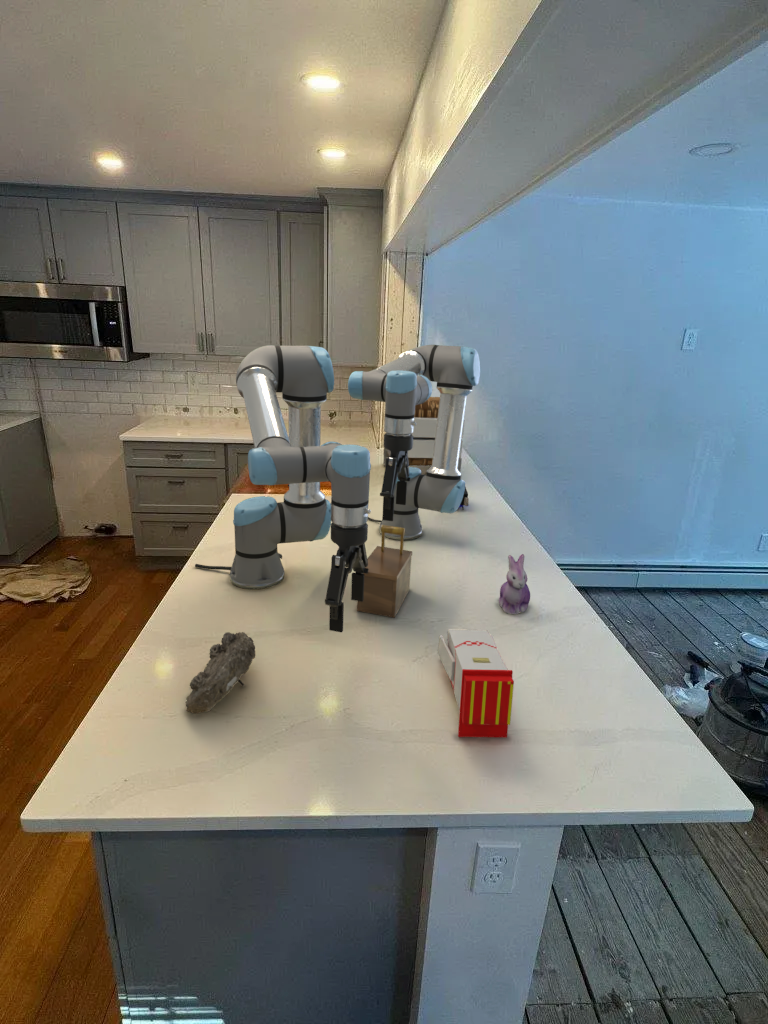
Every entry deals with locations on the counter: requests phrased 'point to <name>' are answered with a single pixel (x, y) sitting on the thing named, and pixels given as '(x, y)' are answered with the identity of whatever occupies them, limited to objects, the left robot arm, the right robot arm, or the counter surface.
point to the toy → (478, 682)
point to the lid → (388, 557)
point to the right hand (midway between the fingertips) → (394, 512)
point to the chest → (385, 594)
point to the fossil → (221, 671)
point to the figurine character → (464, 499)
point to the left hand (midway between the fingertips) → (347, 614)
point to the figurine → (515, 588)
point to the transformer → (425, 435)
